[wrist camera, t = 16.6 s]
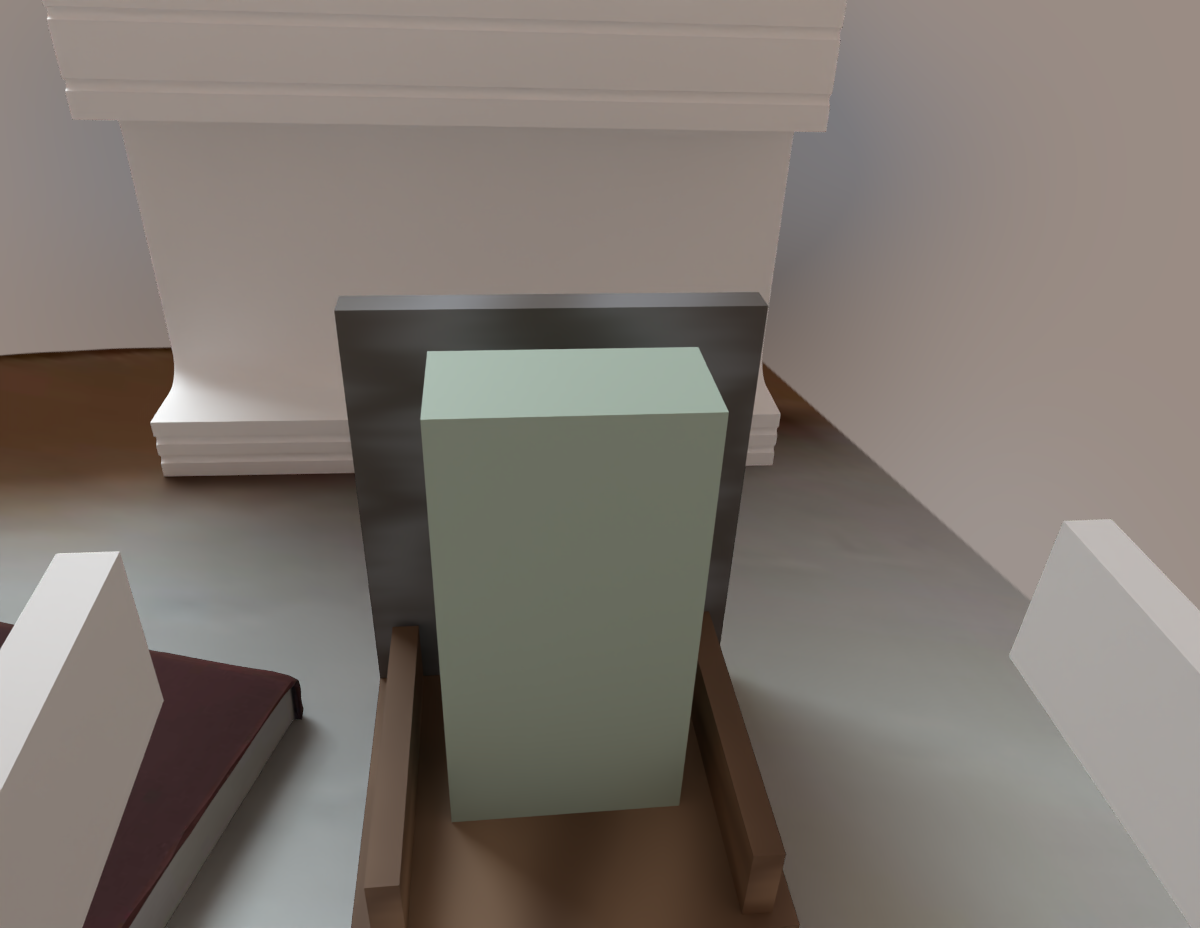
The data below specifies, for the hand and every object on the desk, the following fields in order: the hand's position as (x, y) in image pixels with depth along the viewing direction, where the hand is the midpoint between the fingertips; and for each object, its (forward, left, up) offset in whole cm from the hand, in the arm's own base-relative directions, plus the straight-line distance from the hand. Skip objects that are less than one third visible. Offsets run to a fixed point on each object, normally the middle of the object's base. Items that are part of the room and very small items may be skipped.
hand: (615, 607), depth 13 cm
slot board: (+1, +13, -20) cm, 24 cm away
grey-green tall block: (+1, +13, -19) cm, 23 cm away
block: (-2, +40, -21) cm, 45 cm away
